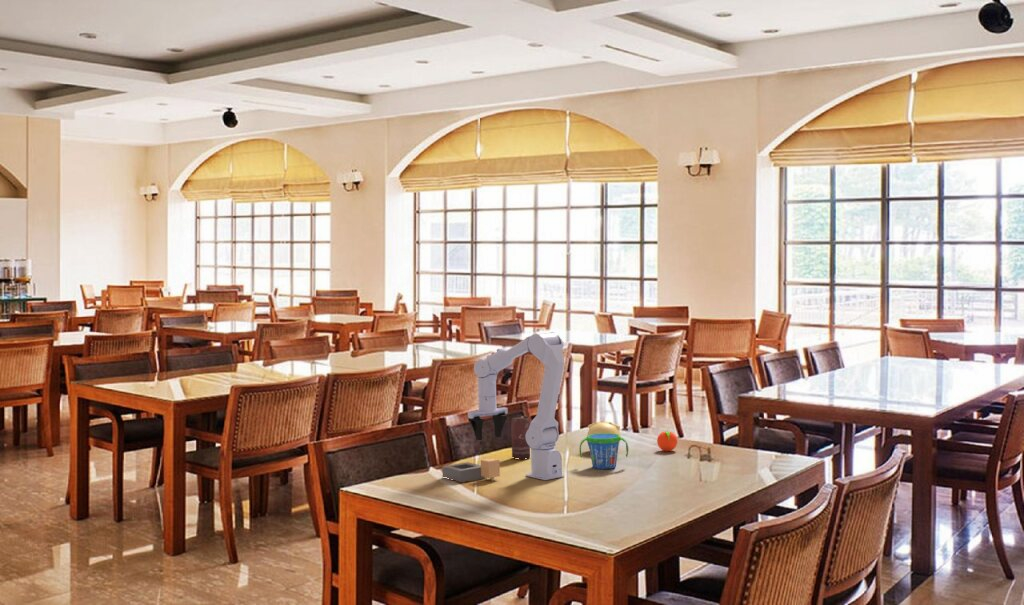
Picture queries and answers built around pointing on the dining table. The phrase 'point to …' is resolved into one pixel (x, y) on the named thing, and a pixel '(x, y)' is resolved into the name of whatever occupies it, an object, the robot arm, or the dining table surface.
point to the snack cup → (604, 449)
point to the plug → (490, 468)
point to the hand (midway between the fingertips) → (488, 438)
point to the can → (520, 437)
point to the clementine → (667, 441)
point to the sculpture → (603, 428)
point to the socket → (462, 472)
